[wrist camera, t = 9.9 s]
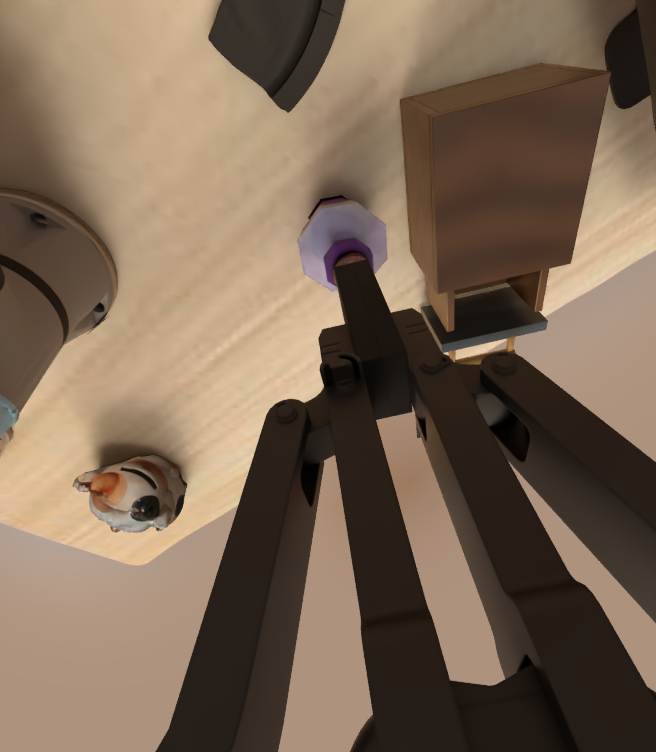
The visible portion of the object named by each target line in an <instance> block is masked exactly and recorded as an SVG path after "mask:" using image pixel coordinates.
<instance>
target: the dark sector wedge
mask: <svg viewBox="0 0 656 752" xmlns="http://www.w3.org/2000/svg"><path fill="white" fill-rule="evenodd" d="M344 3H345V0H222V2H221V4H220V7H219V10H218V12H217V15H216V19H215V22H214V24H213V27H212V29H211V31H210V33H209V36H208V37H209V41H210V42H212V44H213V45H214V47H215V48H216V49H217V50H218V51H219V52H220V53H221V54H222V55H223V56H224V57H225V58H226V59H227V60H228V61H229V62H230V63H231V64H232V65H234V66H235V67H236V68H237V69H238V70H240V71H241V72H243V73H244V74H245V75H247V76H248V77H249V78H251V79H252V80H253V81H255V82H256V83H257V84H259V85H260V86H261V87H262V88H263V89H264V90H265V91H266V92H267V94H268V95H269V97H270V98H271V99H272V100H273V101H274V102H275V103H276V104H277V106H278V107H280V108H281V109H283V110H285V111H287V112H288V113H289V112H290V111H291V110H292V109H293V108H294V107H295V105H296V104H297V103H298V102H299V101H300V99H301V98H302V97H303V96H304V94H305V93H306V92H307V90H308V89H309V87H310V86H311V84H312V83H313V81H314V80H315V78H316V76H317V75H318V73H319V71H320V69H321V67H322V65H323V63H324V61H325V59H326V57H327V55H328V53H329V50H330V48H331V46H332V43H333V41H334V38H335V35H336V32H337V29H338V26H339V23H340V19H341V15H342V11H343V7H344Z"/></svg>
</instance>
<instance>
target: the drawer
mask: <svg viewBox="0 0 656 752" xmlns="http://www.w3.org/2000/svg"><path fill="white" fill-rule="evenodd" d="M548 273H549V269H545V270H540V271H536V272H532V273H528V274H523V275H519V276H515V277H510V278H506V279H502V280H497V281H493V282H489V283H485V284H480V285H476V286H472V287H467V288H463V289H459V290H454V291H450V292H446V293H442V294H436V292H435V290H434V289H433V287H432V286H431V284H430V282H429V281H428V279H427V278H426V286H427V298H428V300H429V302H430V303H431V305H428V306H424V307H421V314H422V316H423V318H424V320H425V322H426V324H427V326H428V328H429V330H430V331H431V333H432V335H433V337H434V339H435V341H436V343H437V344H438V346H439V348H440V350H441V352H442V353H444V352H449V357H450V358H451V359H452V360H453V362H456V363H460V364H481V361H482V360H483V358H484V357H485V356H487V355H489V354H491V353H495V352H510V353H514V354H516V353H515V350H514V349H513V347H514V339H515V337H516V336H520V335H524V334H529V333H533V332H537V331H542V330H546V327H547V322H548V321H547V320H546V318H545V317H544V316H543V315H542V314H541V313H540V312H539V311H542V307H543V301H544V295H545V290H546V284H547V278H548ZM504 283H508V284H509V285H510V287H506V288H502V289H497V290H493V291H489V292H484V293H480V294H476V295H471V296H467V297H463V298H459V299H455V295H456V294H461V293H465V292H469V291H474V290H478V289H482V288H487V287H491V286H495V285H500V284H504ZM507 338H508V339H507ZM502 339H507V348H506V349H502V350H498V351H494V352H489V353H484V354H480V355H475V356H471V357H467V358H462V359H458V360H455V350H458V349H462V348H467V347H471V346H476V345H480V344H484V343H489V342H493V341H498V340H502Z"/></svg>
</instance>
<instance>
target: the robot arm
mask: <svg viewBox="0 0 656 752" xmlns="http://www.w3.org/2000/svg"><path fill="white" fill-rule="evenodd" d="M334 272H335V277H336V282H337V287H338V292H339V297H340V302H341V307H342V312H343V316H344V321H345V324H344V325H340V326H335V327H331V328H326V329H322V332H321V334H320V336H319V338H318V339H319V345H320V351H321V358H322V363H321V365H320V373H321V377H322V380H323V384H324V388H323V390H322V391H321V393H320V394H318V395H317V396H316V397H315V398H313V399H311V400H310V401H307V402H305V403H303V402H301V401H299V400H296V399H287V400H283V401H280V402H278V403H276V404H275V405H274V406H273V407H272V408H270V410H269V411H268V413H267V415H266V418H265V422H264V425H263V428H262V431H261V434H260V438H259V441H258V444H257V447H256V450H255V454H254V457H253V460H252V463H251V467H250V470H249V473H248V476H247V479H246V483H245V486H244V489H243V492H242V495H241V499H240V502H239V505H238V508H237V511H236V515H235V518H234V521H233V524H232V528H231V531H230V534H229V537H228V540H227V544H226V547H225V550H224V553H223V556H222V560H221V563H220V566H219V569H218V572H217V576H216V579H215V582H214V586H213V589H212V592H211V595H210V598H209V602H208V605H207V608H206V611H205V614H204V618H203V621H202V624H201V627H200V630H199V634H198V637H197V640H196V643H195V646H194V650H193V653H192V656H191V659H190V662H189V666H188V669H187V672H186V675H185V678H184V682H183V685H182V688H181V692H180V695H179V698H178V701H177V704H176V707H175V711H174V714H173V717H172V720H171V724H170V727H169V729H168V731H167V733H166V735H165V736H164V738H163V740H162V742H161V743H160V745H159V747H158V749H157V750H156V752H278V749H279V744H280V738H281V734H282V729H283V724H284V717H285V711H286V704H287V698H288V692H289V685H290V678H291V672H292V665H293V659H294V653H295V646H296V640H297V634H298V627H299V621H300V615H301V608H302V602H303V595H304V589H305V583H306V576H307V569H308V563H309V557H310V551H311V544H312V538H313V531H314V525H315V519H316V512H317V506H318V499H319V493H320V486H321V480H322V474H323V467H324V460H326V459H328V458H329V457H332V456H333V455H335V456H336V462H337V469H338V475H339V481H340V488H341V494H342V501H343V507H344V513H345V519H346V526H347V532H348V539H349V545H350V551H351V558H352V564H353V570H354V577H355V583H356V589H357V596H358V602H359V609H360V616H361V636H362V644H363V651H364V658H365V665H366V671H367V678H368V684H369V690H370V697H371V704H372V710H373V715H372V716H371V717H370V718H369V719H368V721H367V722H366V723H365V725H364V726H363V728H362V729H361V730H360V732H359V734H358V736H357V738H356V740H355V742H354V744H353V746H352V748H351V751H350V752H656V692H655V691H653V690H651V689H650V688H648V687H647V686H646V684H645V682H644V680H643V679H642V677H641V675H640V673H639V672H638V670H637V668H636V666H635V665H634V663H633V661H632V660H631V658H630V656H629V654H628V653H627V651H626V649H625V647H624V645H623V644H622V642H621V640H620V639H619V637H618V635H617V633H616V631H615V630H614V628H613V626H612V625H611V623H610V621H609V619H608V618H607V616H606V614H605V612H604V611H603V609H602V607H601V605H600V604H599V602H598V601H597V599H596V598H595V596H594V595H593V593H592V592H591V591H590V590H589V589H588V588H587V587H586V586H585V585H583V584H582V583H580V582H577V581H576V580H575V579H574V578H573V577H572V576H571V575H570V573H569V572H568V570H567V568H566V566H565V564H564V563H563V561H562V559H561V557H560V555H559V553H558V552H557V550H556V548H555V546H554V544H553V543H552V541H551V539H550V537H549V535H548V534H547V532H546V530H545V528H544V526H543V524H542V523H541V521H540V519H539V517H538V515H537V513H536V511H535V510H534V508H533V506H532V504H531V502H530V501H529V499H528V497H527V495H526V493H525V491H524V490H523V488H522V486H521V484H520V482H519V481H518V479H517V477H516V475H515V473H514V471H513V470H512V468H511V466H510V464H509V462H510V463H511V464H512V465H513V467H514V468H515V469H516V470H517V471H518V472H519V473H520V474H521V475H522V476H523V478H524V479H525V480H526V481H527V482H528V483H529V484H530V485H531V486H532V487H533V489H534V490H535V491H536V492H537V493H538V494H539V495H540V496H541V497H542V498H543V499H544V501H545V502H546V503H547V504H548V505H549V506H550V507H551V508H552V510H553V511H554V512H555V513H556V514H557V515H558V516H559V517H560V518H561V519H562V520H563V522H564V523H565V524H566V525H567V526H568V527H569V528H570V529H571V530H572V531H573V533H574V534H575V535H576V536H577V537H578V538H579V539H580V540H581V541H582V543H583V544H584V545H585V546H586V547H587V548H588V549H589V550H590V551H591V552H592V554H593V555H594V556H595V557H596V558H597V559H598V560H599V561H600V562H601V563H602V564H603V565H604V567H605V568H606V569H607V570H608V571H609V572H610V573H611V574H612V576H613V577H614V578H615V579H616V580H617V581H618V582H619V583H620V584H621V585H622V586H623V588H624V589H625V590H626V591H627V592H628V593H629V594H630V595H631V596H632V598H633V599H634V600H635V601H636V602H637V603H638V604H639V605H640V606H641V607H642V609H643V610H644V611H645V612H646V613H647V614H648V615H649V616H650V617H651V618H652V620H653V621H654V622H655V623H656V462H655V461H653V460H652V459H651V458H650V457H648V456H647V455H646V454H644V453H643V452H642V451H641V450H639V449H638V448H637V447H636V446H634V445H633V444H632V443H631V442H629V441H628V440H626V439H625V438H624V437H623V436H621V435H620V434H619V433H618V432H617V431H615V430H614V429H613V428H611V427H610V426H609V425H608V424H606V423H605V422H604V421H603V420H601V419H600V418H599V417H597V416H596V415H595V414H593V413H592V412H591V411H589V410H588V409H587V408H586V407H584V406H583V405H582V404H581V403H580V402H578V401H577V400H576V399H574V398H573V397H572V396H571V395H569V394H568V393H567V392H566V391H564V390H563V389H562V388H560V387H559V386H558V385H557V384H555V383H554V382H553V381H552V380H550V379H549V378H548V377H546V376H545V375H544V374H543V373H541V372H540V371H539V370H537V369H536V368H535V367H534V366H532V365H531V364H530V363H529V362H527V361H526V360H525V359H523V358H522V357H520V356H518V355H517V354H514V353H510V352H495V353H491V354H489V355H487V356H485V357H484V358H483V360H482V361H481V364H460V363H456V362H453V360H452V359H451V358H450V357H449V356H447V355H445V354H443V353H442V352H441V350H440V348H439V346H438V344H437V343H436V341H435V339H434V337H433V335H432V333H431V331H430V330H429V328H428V326H427V324H426V322H425V320H424V318H423V316H422V314H421V313H419V312H417V311H416V310H414V309H413V308H410V309H406V310H401V311H397V312H392V313H391V312H390V310H389V308H388V305H387V303H386V301H385V298H384V296H383V294H382V291H381V289H380V287H379V284H378V282H377V280H376V277H375V275H374V273H373V270H372V268H371V266H370V263H369V261H368V259H366V260H361V261H357V262H353V263H349V264H344V265H340V266H336V267H334ZM116 292H117V275H116V271H115V267H114V264H113V262H112V259H111V257H110V255H109V253H108V251H107V249H106V248H105V246H104V245H103V243H102V242H101V241H100V239H99V238H98V237H97V236H96V234H95V233H94V232H93V231H92V230H91V229H90V228H89V227H88V226H87V225H86V224H85V223H84V222H82V221H81V220H80V219H79V218H78V217H76V216H75V215H74V214H72V213H71V212H69V211H68V210H66V209H65V208H63V207H61V206H60V205H58V204H56V203H54V202H52V201H50V200H48V199H45V198H43V197H40V196H37V195H35V194H31V193H28V192H24V191H19V190H12V189H0V438H1V437H2V436H3V435H4V433H5V432H6V431H7V430H8V429H9V427H11V426H13V425H14V424H15V423H16V422H17V420H18V418H19V413H20V412H21V410H22V409H23V407H24V405H25V404H26V402H27V401H28V399H29V398H30V396H31V394H32V393H33V391H34V390H35V388H36V387H37V385H38V383H39V382H40V380H41V379H42V377H43V376H44V374H45V372H46V371H47V369H48V368H49V366H50V365H51V363H52V362H53V360H54V359H55V357H56V356H57V354H58V352H59V351H60V349H61V348H62V346H63V345H64V344H66V343H67V342H69V341H71V340H73V339H74V338H76V337H78V336H80V335H82V334H83V333H85V332H87V331H89V330H90V329H92V328H93V329H94V328H95V326H96V325H97V326H98V325H99V324H100V323H101V321H102V320H103V319H104V318H105V316H106V315H107V313H108V311H109V310H110V308H111V306H112V304H113V302H114V300H115V297H116ZM107 317H108V316H107ZM107 317H106V318H107ZM106 318H105V319H106ZM105 319H104V320H105ZM104 320H103V321H104ZM103 321H102V322H103ZM97 326H96V327H97ZM93 329H92V330H93ZM92 330H91V331H92ZM91 331H90V332H91ZM412 406H413V408H414V411H415V416H416V429H417V438H420V435H421V438H422V441H423V444H424V446H425V448H426V452H427V454H428V457H429V460H430V463H431V465H432V468H433V471H434V473H435V476H436V479H437V482H438V484H439V487H440V489H441V492H442V495H443V498H444V501H445V503H446V506H447V509H448V511H449V514H450V517H451V520H452V522H453V525H454V528H455V530H456V533H457V536H458V539H459V542H460V544H461V547H462V550H463V552H464V555H465V558H466V560H467V563H468V566H469V569H470V572H471V574H472V577H473V579H474V582H475V585H476V588H477V590H478V593H479V596H480V599H481V601H482V604H483V607H484V609H485V612H486V615H487V618H488V621H489V623H490V626H491V629H492V632H493V635H494V639H495V644H496V649H497V654H498V657H499V661H500V664H501V667H502V670H503V673H504V676H505V680H503V681H502V682H500V683H498V684H496V685H492V686H487V685H480V684H471V683H464V682H457V681H450V679H449V675H448V672H447V669H446V665H445V661H444V657H443V654H442V650H441V647H440V643H439V640H438V636H437V633H436V629H435V626H434V622H433V620H432V616H431V614H430V612H429V609H428V606H427V604H426V600H425V597H424V593H423V590H422V586H421V582H420V578H419V575H418V571H417V567H416V564H415V560H414V557H413V553H412V549H411V546H410V542H409V538H408V535H407V531H406V527H405V524H404V520H403V517H402V513H401V509H400V506H399V502H398V498H397V495H396V491H395V488H394V484H393V480H392V477H391V473H390V469H389V466H388V462H387V459H386V455H385V451H384V448H383V444H382V440H381V437H380V433H379V429H378V426H377V422H376V420H377V419H382V418H387V417H391V416H396V415H400V414H405V413H410V412H412ZM508 461H509V462H508Z"/></svg>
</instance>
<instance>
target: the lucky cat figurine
mask: <svg viewBox="0 0 656 752" xmlns="http://www.w3.org/2000/svg"><path fill="white" fill-rule="evenodd" d="M75 486H76V488H77V489H78V491H80V492H81V491H83V492H88V491H90V500H89V504H90V510H91V511H92V513H93V514H94V515H95V516H96V517H97V518H99V519H100V520H102V521H104V522H106V523H107V524H108V525H110V528H111V530H112V531H113V532H118V531H120V530H122V531H124V532H134V533H135V532H143V531H145V530H146V529H148V528H149V527H156V530H157V531H161V530H163V529H164V528H166V527H168V525H169V524H171V523H172V522H173V521H174V520H175V519H176V518H177V517H178V515H179V514H180V512H181V510H182V508H183V504H184V497H185V492H186V488H187V483H186V482H185V481H184V480H183V479H182V476H181V474H180V471H179V468H178V467H177V466H175V465H173V464H171V463H170V462H168V461H166V460H164V459H163V458H161V457H159V456H156V455H150V456H145V457H140V456H138V457H135V458H132V459H130V460H127V461H125V462H121V463H118V464H115V465H111V466H108V467H105V468H101V469H98V470H94V471H90V472H86V473H84V474H83V475H81V476H79V477H77V478H76V479H75V482H74V484H73V487H75Z"/></svg>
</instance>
